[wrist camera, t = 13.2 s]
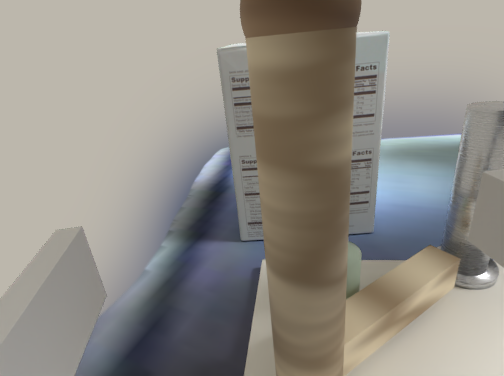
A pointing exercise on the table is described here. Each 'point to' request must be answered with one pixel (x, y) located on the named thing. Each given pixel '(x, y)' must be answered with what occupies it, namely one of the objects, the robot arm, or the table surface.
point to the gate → (319, 193)
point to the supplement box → (363, 138)
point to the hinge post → (473, 191)
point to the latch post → (353, 270)
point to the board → (411, 333)
